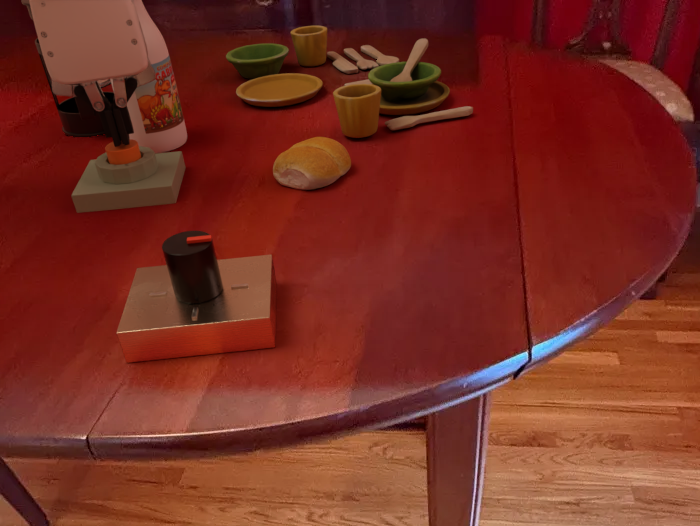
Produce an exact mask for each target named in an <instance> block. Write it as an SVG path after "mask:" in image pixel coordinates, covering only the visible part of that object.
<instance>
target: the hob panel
mask: <svg viewBox="0 0 700 526" xmlns="http://www.w3.org/2000/svg"><path fill="white" fill-rule="evenodd" d="M217 261H218V266H219V270H220V275H221V279H222V284H223V289H222V291H221V293H220V294H219V295H218V296H216V297H215V298H213V299H211V300H208V301H205V302H201V303H184V302H181V301H179V300H178V299H177V298H176V297H175V294H174V290H173V287H172V283H171V279H170V276H169V272H168V268H167V265H166V264H164V265H163V264H162V265H154V266H143V267H137V268H136V269H135V273H134V276H133V279H132V283H131V286H130V289H129V292H128V295H127V299H126V301H125V305H124V307H123V311H122V314H121V317H120V320H119V323H118V326H117V328H116V329H117V330H116V332H115V334H116V336H117V339H118V342H119V345H120V348H121V351H122V354H123V357H124V359H125V362H126V364H129V363H138V362H139V363H140V362H150V361H157V360H168V359H177V358H186V357H187V358H188V357H196V356H206V355H216V354H227V353H236V352H246V351H255V350H264V349H275V348H276V334H277V333H276V331H277V329H276V327H277V287H278V284H277V283H278V282H277V277H276V270H275V263H274V259H273V254H264V255H263V254H262V255H253V256H251V255H250V256H244V257H243V256H242V257H232V258H225V259H223V258H221V259H217Z"/></svg>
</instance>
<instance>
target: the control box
mask: <svg viewBox="0 0 700 526" xmlns="http://www.w3.org/2000/svg"><path fill="white" fill-rule="evenodd" d="M139 149H140V153H141V158H140V159H139V160H137V161H135V162H131V163H128V164H121V165H113V164H110V163H109V160H108V157H107V153H106V152H103V153H102V154H100V155H99V156H97V157H96V159H90V160H89V161H88V163H87V166H86V167H85V169H84V171H83V173H82V175H81V177H80V178H79V180H78V182H77V184H76V186H75V187H74V190H73V191H72V193H71V196H70V197H71V200H72V202H73V206H74V208H75V211H76V213H77V214H80V213H81V214H82V213H91V212H92V213H93V212H101V211H110V210H120V209H121V210H122V209H132V208H142V207H153V206H162V205H173V204H176V203H177V200H178V196H179V194H180V190H181V185H182V183H183V178H184V175H185V171H186V163H185V159H184V155H183V151H181V150H179V151H171V152H170V151H167V152H162V153H156V154H155V152H154V151H153V150H152V149H150V148H149V147H142V146H139Z"/></svg>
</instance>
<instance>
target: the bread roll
mask: <svg viewBox="0 0 700 526" xmlns="http://www.w3.org/2000/svg"><path fill="white" fill-rule="evenodd" d="M351 167H352V159H351V156H350V153H349V152H348V150H347V148H346V147H345V146H344V145H343V144H342V143H340V142H339V141H337V140H335V139H334V138H329V137H325V136H314V137H311V138H308V139H304V140H302V141H300V142H296V143H294V144H293V145H292V146H291V147H290V148H288V149H287V150H284V151H283V152H281V153H280V154H279V155H278V156H276V159H275V160H274V162H273V166H272V175H273V178H274V179H275V180H276V182H278V183H279V184H280V185H281V186H284V187H289V188H291V189H294V190H295V189H296V190H303V191H307V190H308V191H310V190H316V189H321V188H323V187H327V186H329V185H331V184H333V183H335V182H337V180H338V179H340V177H342V176H344V175H346V174H347V172H348V171H349V170H350V169H351Z"/></svg>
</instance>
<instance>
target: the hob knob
mask: <svg viewBox="0 0 700 526" xmlns="http://www.w3.org/2000/svg"><path fill="white" fill-rule="evenodd" d="M161 249H162V253H163V257H164V260H165V265H167V268H168V272H169V276H170V279H171V283H172V287H173V290H174V294H175V297H176V298H177V299H178V300H179V301H181V302H184V303H201V302H205V301H208V300H211V299H213V298H215V297H216V296H218V295H219V294H220V293H221V291H222V289H223V284H222V279H221V275H220V270H219V266H218V261H217V260H218V257H217V252H216V249H215V244H214V239H213V236H212V234H210V233H208V232H206V231H203V230H186V231H182V232H178V233H176V234H173V235H171V236H169V237H167V238H166V239H164V240H163V242H162V245H161Z"/></svg>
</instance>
